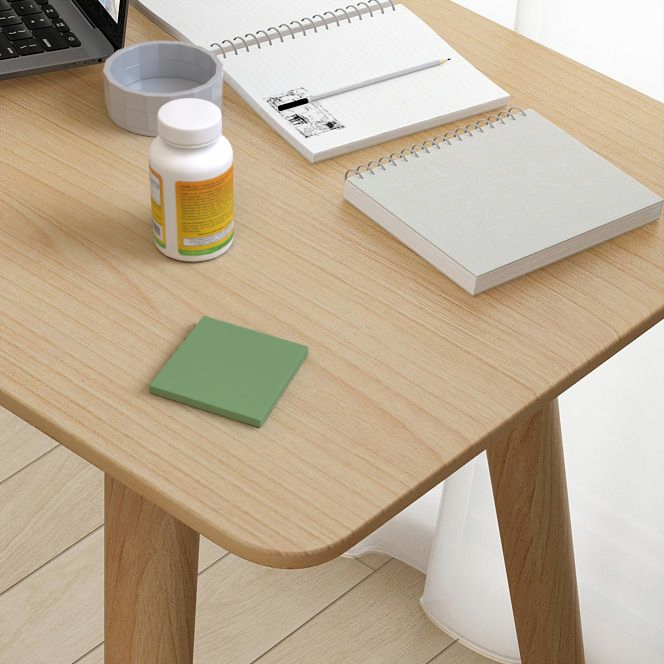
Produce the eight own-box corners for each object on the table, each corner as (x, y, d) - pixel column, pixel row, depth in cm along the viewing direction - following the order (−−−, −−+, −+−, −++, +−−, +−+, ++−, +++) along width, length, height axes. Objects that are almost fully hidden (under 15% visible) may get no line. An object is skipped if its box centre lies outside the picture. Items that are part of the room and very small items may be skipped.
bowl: (85, 120, 92) (81, 79, 90) (142, 71, 98) (139, 31, 96) (190, 148, 90) (189, 106, 87) (241, 95, 96) (241, 55, 94)
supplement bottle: (248, 232, 82) (249, 106, 75) (206, 273, 78) (203, 144, 72) (181, 209, 83) (176, 83, 77) (137, 248, 80) (128, 119, 73)
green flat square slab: (149, 392, 69) (148, 385, 69) (203, 322, 74) (203, 315, 74) (260, 428, 67) (260, 420, 67) (308, 353, 72) (308, 346, 72)
